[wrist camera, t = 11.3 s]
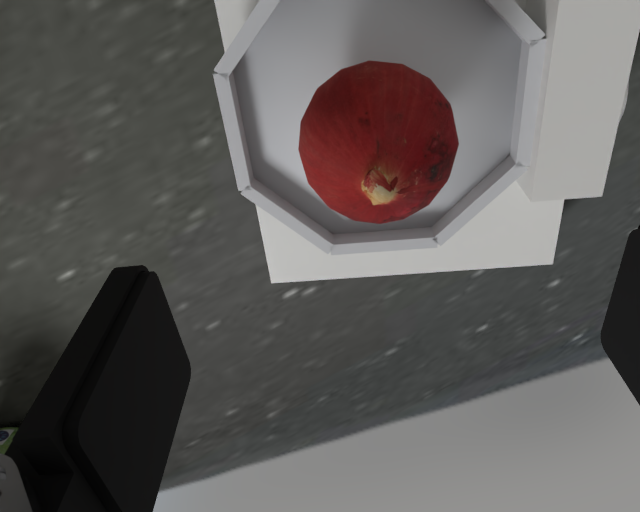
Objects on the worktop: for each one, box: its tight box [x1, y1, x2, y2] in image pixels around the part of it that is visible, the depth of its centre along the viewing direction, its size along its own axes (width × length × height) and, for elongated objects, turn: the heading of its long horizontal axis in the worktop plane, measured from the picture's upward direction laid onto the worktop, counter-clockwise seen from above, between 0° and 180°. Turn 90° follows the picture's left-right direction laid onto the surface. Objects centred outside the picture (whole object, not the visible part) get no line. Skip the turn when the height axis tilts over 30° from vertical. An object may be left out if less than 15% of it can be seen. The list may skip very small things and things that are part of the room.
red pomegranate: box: [298, 60, 459, 224], centre depth 18 cm, size 6×6×8 cm
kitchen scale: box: [213, 0, 640, 283], centre depth 23 cm, size 20×16×6 cm
